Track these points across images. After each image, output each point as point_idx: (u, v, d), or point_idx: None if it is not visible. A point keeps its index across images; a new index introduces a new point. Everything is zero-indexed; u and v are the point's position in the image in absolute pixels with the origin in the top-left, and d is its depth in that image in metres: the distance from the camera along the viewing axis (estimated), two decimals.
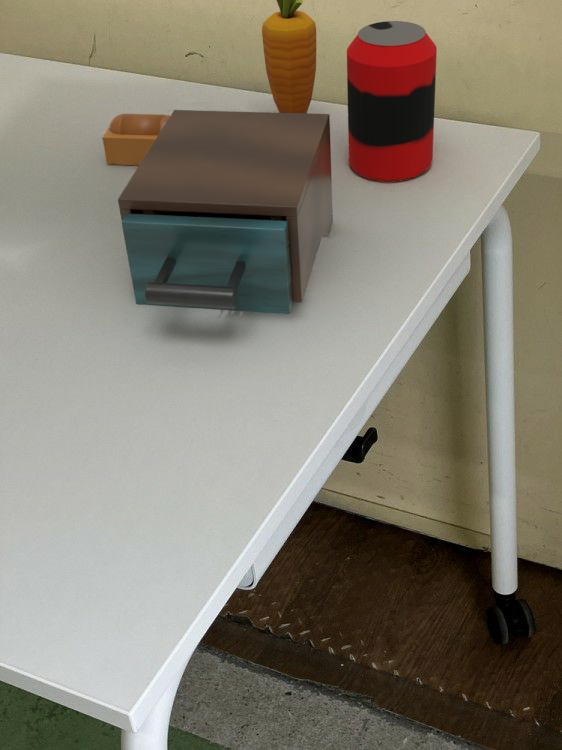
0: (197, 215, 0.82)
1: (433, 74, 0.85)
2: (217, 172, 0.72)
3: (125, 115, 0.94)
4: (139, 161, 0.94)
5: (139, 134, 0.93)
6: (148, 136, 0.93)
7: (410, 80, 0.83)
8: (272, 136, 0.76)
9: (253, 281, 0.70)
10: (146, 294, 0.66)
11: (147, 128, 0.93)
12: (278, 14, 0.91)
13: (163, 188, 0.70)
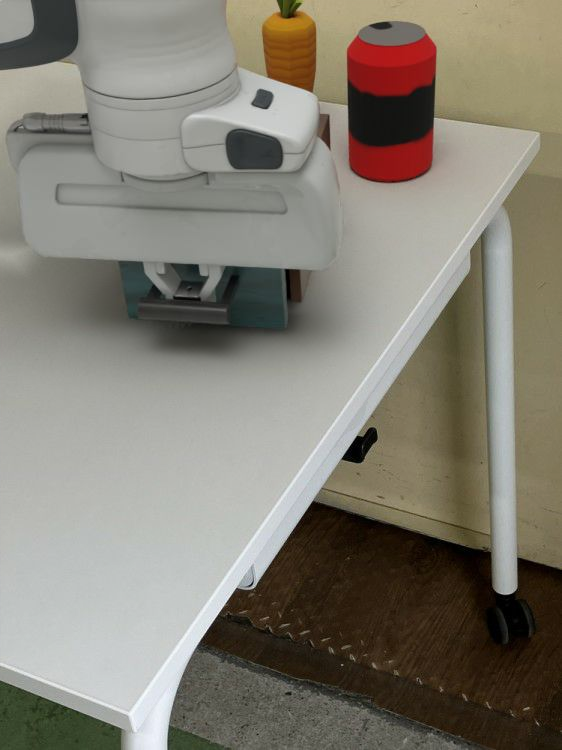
0: None
1: (433, 74, 0.85)
2: None
3: None
4: None
5: None
6: None
7: (410, 80, 0.83)
8: None
9: (248, 295, 0.69)
10: (138, 309, 0.65)
11: None
12: (278, 14, 0.91)
13: None
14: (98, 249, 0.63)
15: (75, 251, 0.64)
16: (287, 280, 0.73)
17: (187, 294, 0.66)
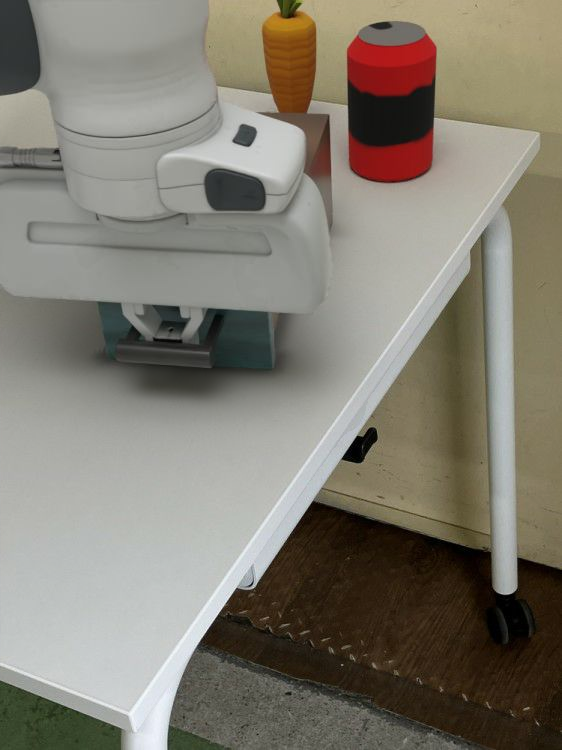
0: None
1: (433, 74, 0.85)
2: None
3: None
4: None
5: None
6: None
7: (410, 80, 0.83)
8: None
9: (233, 335, 0.65)
10: (116, 352, 0.62)
11: None
12: (278, 14, 0.91)
13: None
14: (73, 290, 0.60)
15: (49, 291, 0.60)
16: (275, 316, 0.70)
17: (168, 336, 0.62)
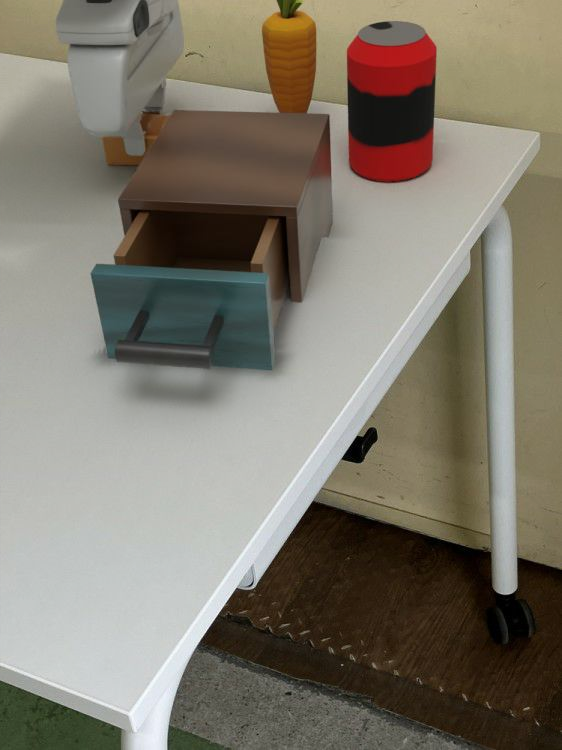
0: (176, 257, 0.77)
1: (433, 74, 0.85)
2: (217, 172, 0.72)
3: None
4: (139, 161, 0.94)
5: None
6: (148, 136, 0.93)
7: (410, 80, 0.83)
8: (272, 136, 0.76)
9: (232, 336, 0.65)
10: (116, 353, 0.62)
11: (147, 128, 0.93)
12: (278, 14, 0.91)
13: (163, 188, 0.70)
14: None
15: None
16: (275, 317, 0.69)
17: None
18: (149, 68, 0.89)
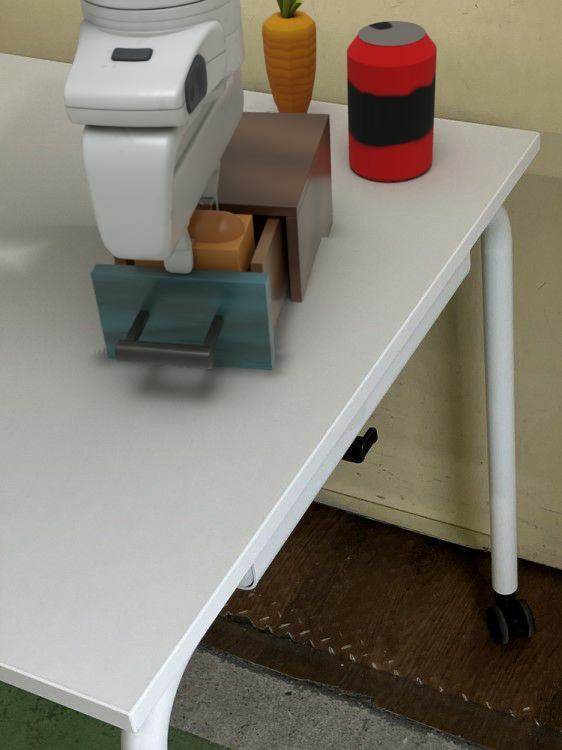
0: None
1: (433, 74, 0.85)
2: None
3: None
4: None
5: None
6: (199, 244, 0.64)
7: (410, 80, 0.83)
8: (272, 136, 0.76)
9: (232, 336, 0.65)
10: (116, 353, 0.62)
11: (197, 232, 0.64)
12: (278, 14, 0.91)
13: None
14: None
15: None
16: (275, 317, 0.69)
17: None
18: (201, 151, 0.60)
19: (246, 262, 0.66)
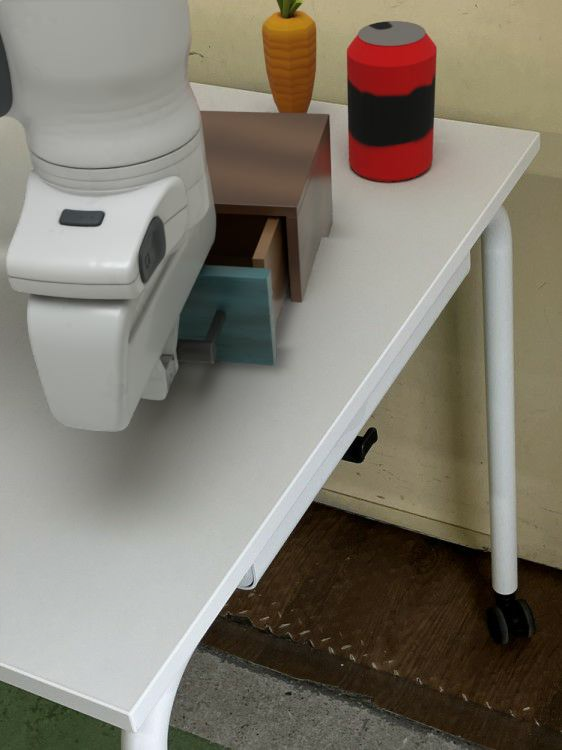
0: None
1: (433, 74, 0.85)
2: (217, 172, 0.72)
3: None
4: None
5: None
6: None
7: (410, 80, 0.83)
8: (272, 136, 0.76)
9: (234, 331, 0.65)
10: None
11: None
12: (278, 14, 0.91)
13: None
14: None
15: None
16: (276, 313, 0.70)
17: None
18: (164, 300, 0.55)
19: None
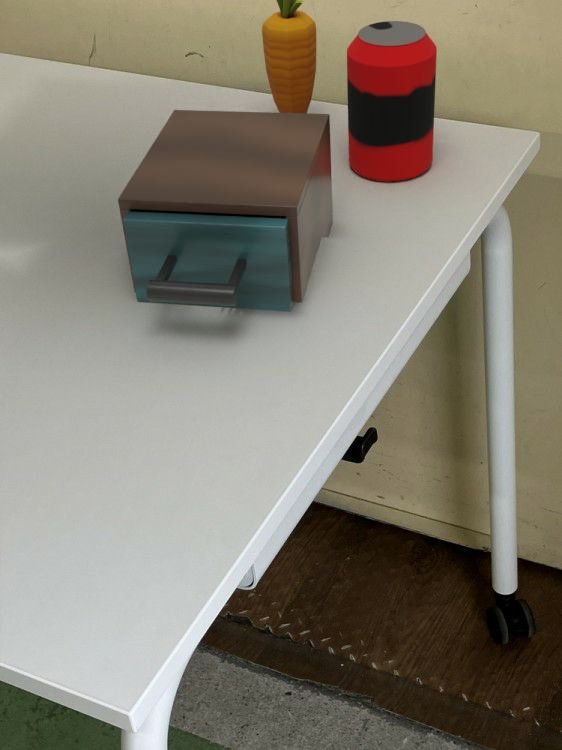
0: (198, 213, 0.82)
1: (433, 74, 0.85)
2: (217, 172, 0.72)
3: None
4: None
5: None
6: None
7: (410, 80, 0.83)
8: (272, 136, 0.76)
9: (254, 278, 0.70)
10: (147, 291, 0.67)
11: None
12: (278, 14, 0.91)
13: (163, 188, 0.70)
14: None
15: None
16: None
17: None
18: None
19: None
